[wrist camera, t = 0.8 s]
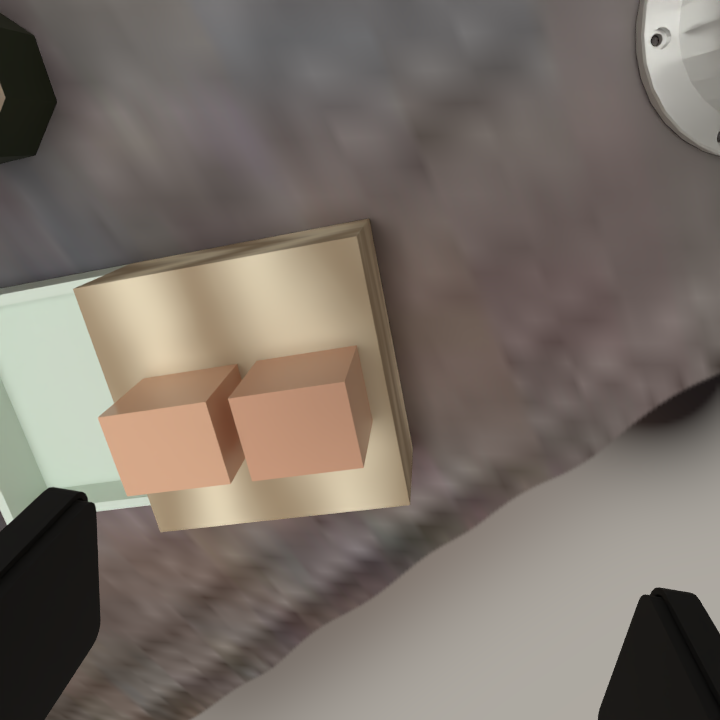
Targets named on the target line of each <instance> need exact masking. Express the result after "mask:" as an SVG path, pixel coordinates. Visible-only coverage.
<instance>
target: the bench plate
mask: <svg viewBox="0 0 720 720" xmlns="http://www.w3.org/2000/svg"><path fill="white" fill-rule="evenodd" d="M73 291H74V294H75V297H76V299H77V302H78V305H79V308H80V310H81V313H82V316H83V319H84V321H85V324H86V327H87V330H88V333H89V335H90V338H91V341H92V344H93V346H94V349H95V352H96V355H97V357H98V360H99V363H100V366H101V369H102V371H103V374H104V377H105V380H106V382H107V385H108V388H109V391H110V393H111V396H112V399H113V402H114V403H115V402H116V401H118V400H119V399H120V398H121V397H122V396H123V395H125V394H126V393H127V392H128V391H129V390H130V389H131V388H133V387H134V386H135V385H136V384H137V383H138V382H140V381H141V380H142V379H143V378H149V377H156V376H162V375H168V374H175V373H181V372H188V371H194V370H201V369H207V368H214V367H220V366H226V365H233V364H237V365H238V369H239V372H240V376H241V379H243V378H244V377H245V375H246V374H247V373H248V371H249V370H250V369H251V367H252V366H253V365H254V364H255V362H256V361H259V360H265V359H272V358H278V357H284V356H291V355H297V354H304V353H310V352H317V351H323V350H330V349H336V348H342V347H349V346H355V345H357V348H358V353H359V357H360V362H361V367H362V372H363V376H364V381H365V386H366V391H367V395H368V400H369V405H370V410H371V414H372V419H373V423H372V428H371V433H370V439H369V444H368V449H367V454H366V459H365V464H364V468H359V469H351V470H343V471H334V472H326V473H318V474H310V475H301V476H293V477H285V478H276V479H268V480H260V481H252V479H251V476H250V472H249V469H248V465H247V462H246V459H245V460H244V461H243V463H242V465H241V467H240V468H239V470H238V472H237V474H236V476H235V477H234V479H233V481H232V483H231V484H227V485H218V486H210V487H202V488H193V489H185V490H177V491H169V492H160V493H152V494H147V496H148V499H149V501H150V504H151V507H152V510H153V512H154V515H155V518H156V521H157V524H158V526H159V529H160V532H166V531H175V530H184V529H194V528H203V527H212V526H221V525H230V524H240V523H249V522H258V521H267V520H276V519H285V518H295V517H304V516H313V515H322V514H331V513H341V512H350V511H359V510H368V509H377V508H387V507H396V506H405V505H410V496H411V476H412V457H413V447H412V441H411V436H410V431H409V425H408V420H407V415H406V410H405V404H404V399H403V394H402V389H401V383H400V378H399V373H398V367H397V362H396V357H395V352H394V346H393V341H392V336H391V331H390V325H389V320H388V315H387V309H386V304H385V299H384V294H383V288H382V283H381V278H380V273H379V267H378V262H377V257H376V251H375V246H374V241H373V236H372V230H371V225H370V220H369V219H364V220H358V221H353V222H348V223H343V224H337V225H332V226H327V227H321V228H316V229H311V230H306V231H300V232H295V233H290V234H285V235H279V236H274V237H269V238H264V239H258V240H253V241H248V242H243V243H237V244H232V245H227V246H222V247H216V248H211V249H206V250H200V251H195V252H190V253H185V254H179V255H174V256H169V257H164V258H158V259H153V260H148V261H143V262H137V263H132V264H129V265H126V266H124V267H122V268H120V269H117V270H115V271H113V272H110V273H108V274H106V275H104V276H101V277H99V278H97V279H94V280H92V281H90V282H88V283H85V284H83V285H81V286H78V287H76V288H74V289H73Z"/></svg>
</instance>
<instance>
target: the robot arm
mask: <svg viewBox="0 0 720 720" xmlns="http://www.w3.org/2000/svg"><path fill="white" fill-rule="evenodd" d="M653 35H657V36H658V37H659V44H658V45H657V46H656V47H654V46H652V45H651V42H650V40H651V37H652V36H653ZM636 55H637V60H638V65H639V71H640V76H641V80H642V82H643V85H644V87H645V90H646V92H647V95H648V97H649V100H650V102H651V104H652V105H653V107H654V108H655V109H656V111H657V112H658V114H659V115H660V117H661V118H662V120H663V121H664V123H665V124H666V125H668V126H669V127H670V128H671V129H672V130H673V131H674V132H675V133H676V134H677V135H679V136H680V137H681V138H682V139H683V140H685V141H687V142H688V143H690V144H692V145H694V146H695V147H697V148H699V149H701V150H702V151H705V152H708V153H711V154H714V155H718V156H720V142H717V135H718V133H719V132H720V0H640V4H639V10H638V16H637V21H636ZM99 628H100V598H99V572H98V545H97V519H96V506H95V504H94V503H92V502H88V497H87V495H86V494H85V493H84V492H80V491H74V490H68V489H62V488H56V487H50V488H48V489H46V490H45V491H44V492H42V493H41V494H40V495H39V496H38V497H37V498H36V499H35V500H34V501H33V502H32V503H31V504H30V505H28V506H27V507H26V508H25V509H24V510H23V511H22V512H21V513H20V514H19V515H18V516H17V517H16V518H15V519H13V520H12V521H11V522H10V523H9V524H8V525H7V526H6V527H5V528H4V529H3V530H2V531H1V532H0V720H45V718H46V717H47V715H48V713H49V712H50V710H51V709H52V707H53V706H54V704H55V703H56V701H57V700H58V698H59V697H60V695H61V694H62V692H63V690H64V689H65V687H66V686H67V684H68V683H69V681H70V680H71V678H72V677H73V675H74V674H75V672H76V671H77V669H78V667H79V666H80V664H81V663H82V661H83V660H84V658H85V657H86V655H87V654H88V652H89V651H90V649H91V647H92V646H93V644H94V642H95V640H96V638H97V635H98V632H99ZM598 720H720V634H719V632H718V630H717V628H716V627H715V625H714V624H713V622H712V620H711V618H710V617H709V615H708V613H707V612H706V610H705V608H704V607H703V605H702V603H701V602H700V600H699V599H698V597H697V596H696V595H694V594H693V593H689V592H683V591H677V590H671V589H665V588H655V589H654V590H653V591H652V592H651V594H650V595H643V596H641V598H640V600H639V602H638V604H637V607H636V610H635V613H634V616H633V618H632V621H631V624H630V627H629V629H628V632H627V635H626V638H625V640H624V643H623V646H622V649H621V651H620V654H619V657H618V660H617V663H616V665H615V668H614V671H613V674H612V676H611V679H610V682H609V685H608V687H607V690H606V693H605V696H604V699H603V701H602V704H601V707H600V710H599V714H598Z"/></svg>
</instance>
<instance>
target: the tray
mask: <svg viewBox="0 0 720 720" xmlns="http://www.w3.org/2000/svg"><path fill="white" fill-rule="evenodd" d="M127 265H129V264H127ZM124 266H126V265H122V266H116V267H111V268H106V269H101V270H95V271H90V272H85V273H79V274H74V275H69V276H64V277H58V278H53V279H48V280H43V281H37V282H32V283H27V284H22V285H16V286H11V287H6V288H1V289H0V510H1V513H2V515H3V517H4V519H5V521H6V524H7V525H8V524H9V523H10V522H11V521H12V520H13V519H15V518H16V517H17V516H18V515H19V514H20V513H21V512H22V511H23V510H24V509H25V508H26V507H27V506H28V505H30V504H31V503H32V502H33V501H34V500H35V499H36V498H37V497H38V496H39V495H40V494H41V493H42V492H44V491H45V490H46V489H48V488H50V487H56V488H62V489H68V490H74V491H80V492H84V493H85V494H86V495H87V497H88V502H92V503H94V504H95V506H96V511H104V510H113V509H122V508H130V507H139V506H147V505H151V504H150V501H149V499H148V496H147V494H144V495H135V496H127V495H126V492H125V489H124V487H123V484H122V481H121V479H120V476H119V473H118V471H117V468H116V465H115V463H114V460H113V457H112V455H111V452H110V449H109V447H108V444H107V441H106V439H105V436H104V433H103V431H102V428H101V425H100V423H99V420H98V417H99V416H100V415H101V414H102V413H104V412H105V411H106V410H107V409H108V408H109V407H111V406H112V405H113V404H114V402H113V399H112V396H111V393H110V391H109V388H108V385H107V382H106V380H105V377H104V374H103V371H102V369H101V366H100V363H99V360H98V357H97V355H96V352H95V349H94V346H93V344H92V341H91V338H90V335H89V333H88V330H87V327H86V324H85V321H84V319H83V316H82V313H81V310H80V308H79V305H78V302H77V299H76V297H75V294H74V291H73V289H74V288H76V287H78V286H81V285H83V284H85V283H88V282H90V281H92V280H94V279H97V278H99V277H101V276H104V275H106V274H108V273H110V272H113V271H115V270H117V269H120V268H122V267H124Z"/></svg>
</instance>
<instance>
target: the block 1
mask: <svg viewBox="0 0 720 720" xmlns="http://www.w3.org/2000/svg"><path fill="white" fill-rule="evenodd" d="M241 381H242V379H241V376H240V372H239V369H238V365H237V364H233V365H226V366H220V367H214V368H207V369H201V370H194V371H188V372H181V373H175V374H168V375H162V376H156V377H149V378H143V379H142V380H141V381H140V382H138V383H137V384H136V385H135V386H134V387H133V388H131V389H130V390H129V391H128V392H127V393H126V394H125V395H123V396H122V397H121V398H120V399H119V400H118V401H116V402H115V403H114V404H113V405H112V406H111V407H109V408H108V409H107V410H106V411H105V412H104V413H102V414H101V415H100V416H99V417H98V420H99V423H100V425H101V428H102V431H103V433H104V436H105V439H106V441H107V444H108V447H109V449H110V452H111V455H112V457H113V460H114V463H115V465H116V468H117V471H118V473H119V476H120V479H121V481H122V484H123V487H124V489H125V492H126V495H127V496H135V495H144V494H152V493H160V492H169V491H177V490H185V489H193V488H202V487H210V486H218V485H227V484H231V483H232V481H233V479H234V477H235V476H236V474H237V472H238V470H239V468H240V467H241V465H242V463H243V461H244V460H245V455H244V452H243V448H242V445H241V442H240V438H239V435H238V431H237V428H236V424H235V421H234V418H233V414H232V411H231V407H230V404H229V401H228V398H229V397H230V395H231V394H232V393H233V391H234V390H235V389H236V387H237V386H238V385H239V383H240V382H241Z"/></svg>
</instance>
